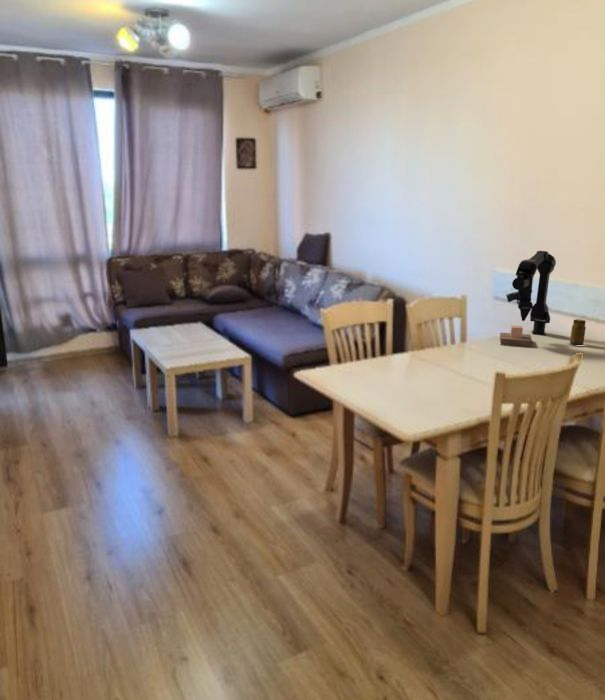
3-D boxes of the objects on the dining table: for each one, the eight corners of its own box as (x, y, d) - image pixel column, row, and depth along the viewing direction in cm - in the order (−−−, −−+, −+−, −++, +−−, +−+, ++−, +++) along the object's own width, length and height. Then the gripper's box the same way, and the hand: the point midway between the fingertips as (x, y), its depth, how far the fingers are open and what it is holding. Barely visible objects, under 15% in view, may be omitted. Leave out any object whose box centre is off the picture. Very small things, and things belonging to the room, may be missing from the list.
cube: (510, 335, 296) (511, 325, 295) (521, 336, 295) (522, 326, 294) (510, 337, 291) (511, 327, 290) (521, 338, 290) (522, 328, 289)
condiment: (578, 342, 297) (581, 318, 294) (589, 346, 289) (593, 322, 286) (565, 343, 295) (568, 319, 292) (576, 347, 287) (579, 322, 284)
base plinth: (499, 338, 302) (500, 332, 301) (529, 340, 299) (529, 334, 298) (500, 344, 289) (501, 338, 288) (531, 347, 286) (532, 341, 285)
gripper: (507, 283, 300) (504, 314, 304) (508, 289, 282) (505, 322, 287) (531, 284, 297) (527, 315, 301) (534, 290, 279) (530, 323, 284)
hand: (522, 318), depth 293 cm, fingers open, 9 cm apart
